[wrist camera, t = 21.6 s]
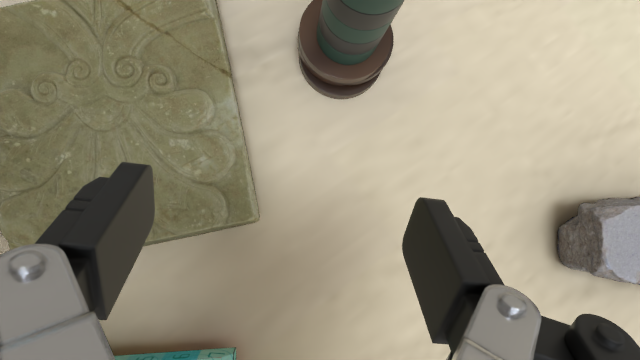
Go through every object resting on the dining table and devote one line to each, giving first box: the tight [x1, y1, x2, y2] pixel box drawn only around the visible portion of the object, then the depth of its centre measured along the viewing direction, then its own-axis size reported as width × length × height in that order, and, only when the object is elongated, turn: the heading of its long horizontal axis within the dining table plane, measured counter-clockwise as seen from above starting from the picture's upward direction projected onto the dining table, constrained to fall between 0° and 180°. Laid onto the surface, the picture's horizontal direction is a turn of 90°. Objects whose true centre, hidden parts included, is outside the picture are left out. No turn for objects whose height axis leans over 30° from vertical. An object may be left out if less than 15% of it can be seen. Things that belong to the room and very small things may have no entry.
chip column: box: [317, 0, 404, 65], centre depth 25 cm, size 5×5×10 cm
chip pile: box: [298, 0, 393, 99], centre depth 32 cm, size 8×8×4 cm
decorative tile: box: [0, 0, 259, 250], centre depth 30 cm, size 19×20×4 cm
